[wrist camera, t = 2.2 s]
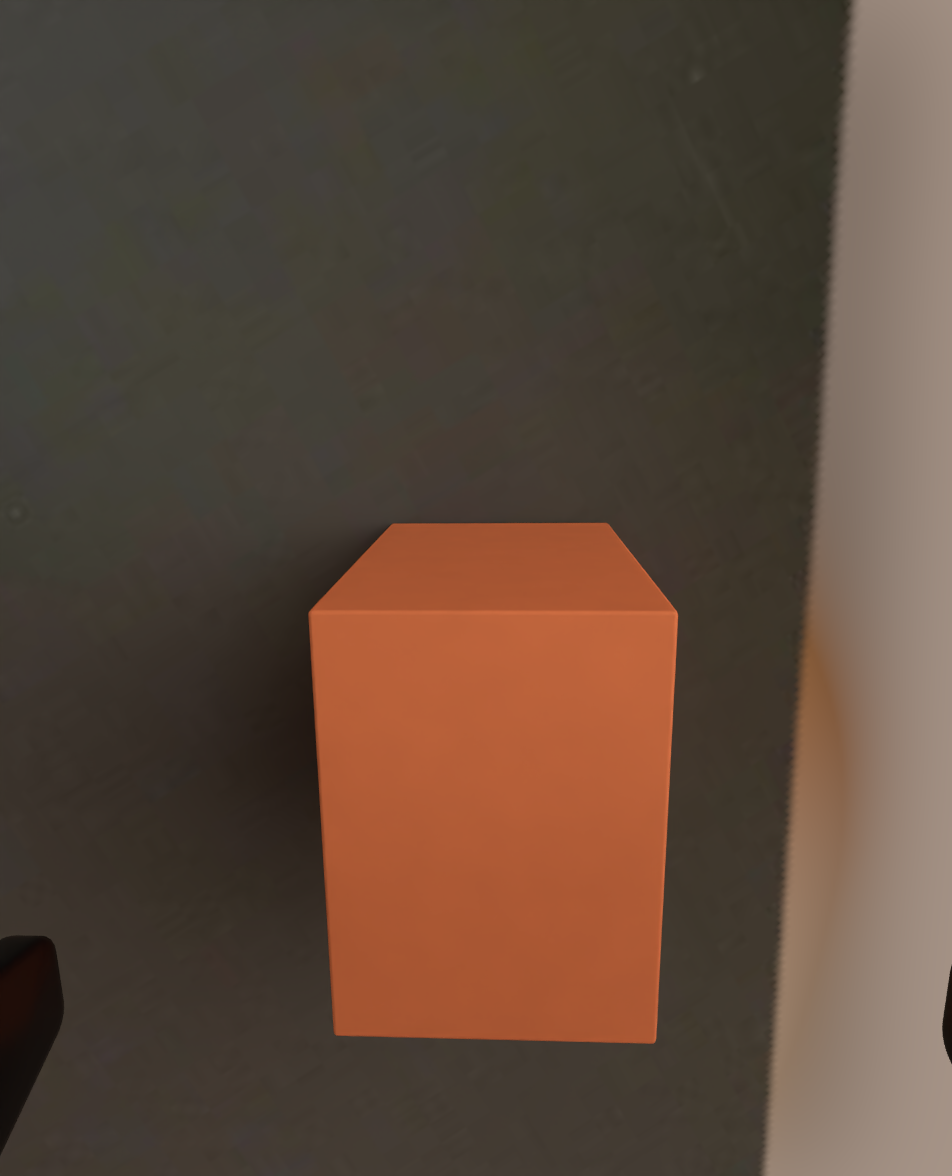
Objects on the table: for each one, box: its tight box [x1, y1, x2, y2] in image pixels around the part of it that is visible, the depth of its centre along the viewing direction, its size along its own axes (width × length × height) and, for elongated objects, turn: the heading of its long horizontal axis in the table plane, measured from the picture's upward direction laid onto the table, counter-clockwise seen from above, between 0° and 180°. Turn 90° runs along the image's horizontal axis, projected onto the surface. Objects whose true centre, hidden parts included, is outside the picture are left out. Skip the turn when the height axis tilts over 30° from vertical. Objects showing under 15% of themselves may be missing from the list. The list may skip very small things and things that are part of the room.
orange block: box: [308, 523, 678, 1044], centre depth 14 cm, size 6×4×7 cm
